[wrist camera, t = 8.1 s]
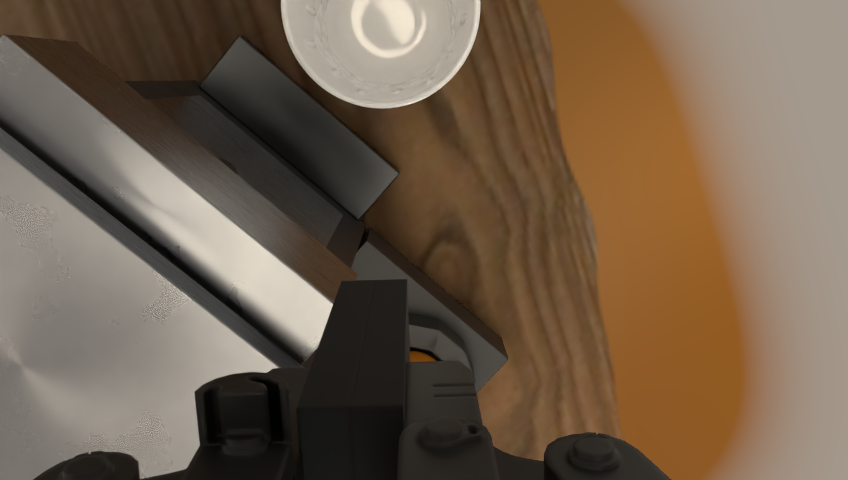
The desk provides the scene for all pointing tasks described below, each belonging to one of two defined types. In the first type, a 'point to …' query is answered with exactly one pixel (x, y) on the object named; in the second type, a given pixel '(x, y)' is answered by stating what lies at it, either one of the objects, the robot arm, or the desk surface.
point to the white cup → (381, 46)
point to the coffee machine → (160, 245)
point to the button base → (433, 313)
